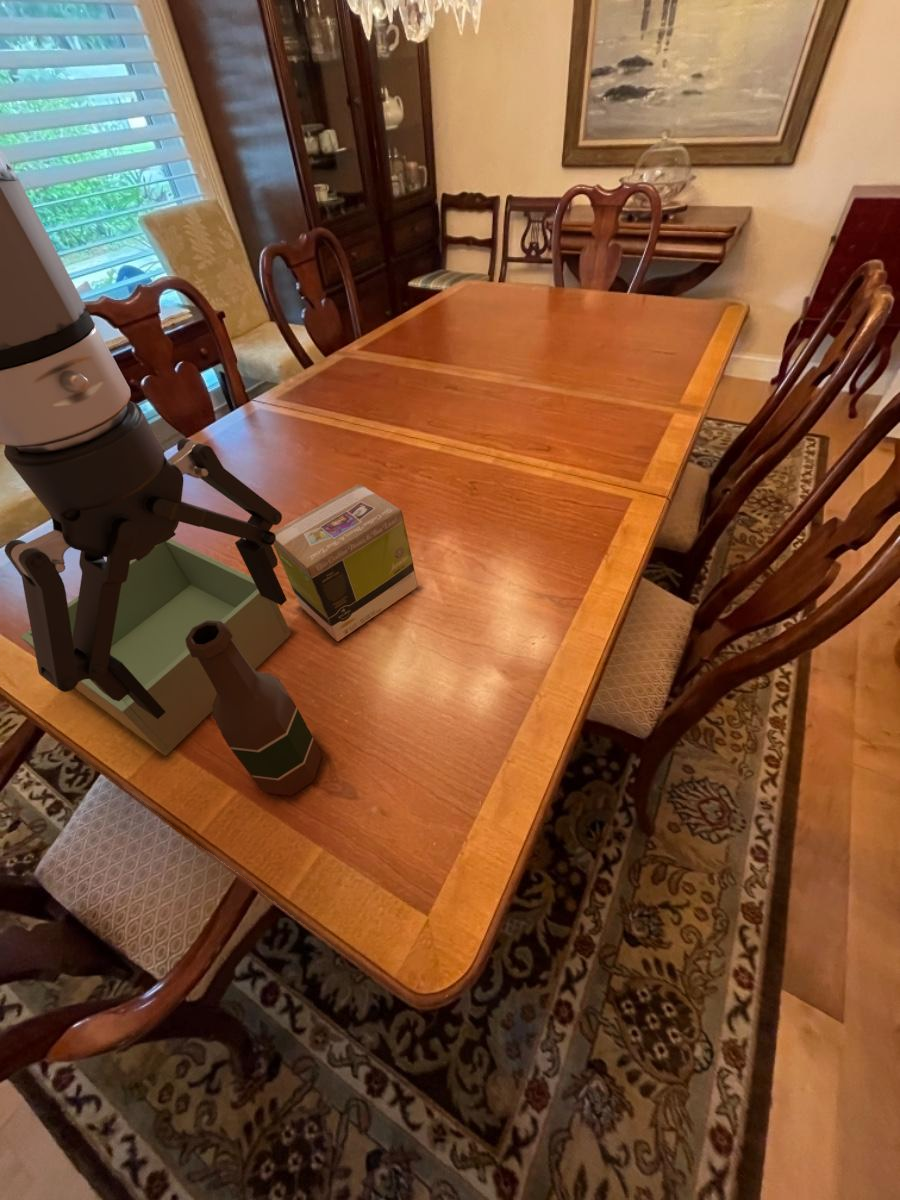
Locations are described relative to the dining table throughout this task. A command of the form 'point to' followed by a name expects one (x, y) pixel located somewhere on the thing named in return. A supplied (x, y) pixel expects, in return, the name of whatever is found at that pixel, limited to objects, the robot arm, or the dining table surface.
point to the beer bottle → (255, 714)
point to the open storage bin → (179, 637)
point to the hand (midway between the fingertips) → (217, 649)
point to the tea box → (347, 559)
